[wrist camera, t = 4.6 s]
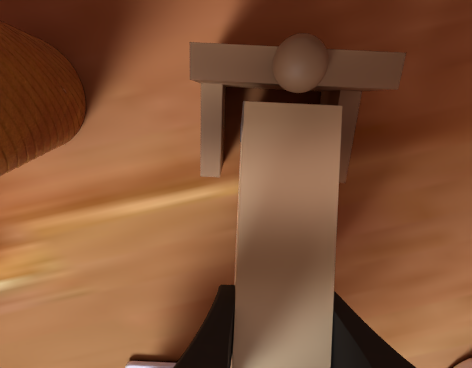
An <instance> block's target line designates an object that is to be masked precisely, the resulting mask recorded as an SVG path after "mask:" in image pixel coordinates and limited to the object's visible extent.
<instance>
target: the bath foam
mask: <svg viewBox="0 0 472 368" xmlns="http://www.w3.org/2000/svg"><path fill="white" fill-rule="evenodd" d="M453 368H472V358H470V359H467V360H465V361H463V362H461V363H459V364H458V365H456V366H455V367H453Z"/></svg>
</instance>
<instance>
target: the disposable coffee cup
mask: <svg viewBox="0 0 472 368" xmlns="http://www.w3.org/2000/svg"><path fill="white" fill-rule="evenodd" d="M85 107H86V104H85V94H84V90H83V87H82V83H81V81H80V79H79V77H78V74H77V72H76V71H75V69H74V68H73V66H72V65H71V63H70V62H69V61H68V60H67V59H66V58H65V57H64V56H63V55H62V54H61V53H60V52H59V51H58V50H57V49H55V48H54V47H52V46H51V45H50V44H48V43H46V42H44V41H42V40H40V39H38V38H36V37H33V36H31V35H29V34H27V33H25V32H23V31H21V30H19V29H17V28H14V27H12V26H10V25H8V24H6V23H4V22H2V21H0V176H1V175H3V174H5V173H8V172H10V171H11V170H13V169H15V168H17V167H20V166H21V165H23V164H24V163H27V162H29V161H31V160H32V159H35V158H37V157H39V156H42V155H43V154H45V153H46V152H49V151H51V150H53V149H55V148H57V147H59V146H62V145H64V144H65V143H67V142H68V141H70V140H71V139H72V138H73V137H74V136H75V134H76V133H77V132H78V130H79V129H80V127H81V125H82V123H83V119H84V116H85Z"/></svg>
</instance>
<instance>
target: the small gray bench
mask: <svg viewBox="0 0 472 368" xmlns="http://www.w3.org/2000/svg"><path fill="white" fill-rule="evenodd" d="M405 56H406V53H399V52H379V51H359V50H339V49H326V47H325V45H324V44H323V43H322V41H321V40H320V39H319V38H317V37H316V36H314V35H311V34H306V33H300V34H295V35H292V36H290V37H289V38H287V39H286V40H284V41H283V42H282V43H281V44H280V46H279V47H278V46H258V45H238V44H217V43H197V42H190V80H193V81H196V82H199V83H201V176H204V177H220V175H221V170H222V166H223V151H224V121H225V90H226V87H240V88H260V89H281V90H287V91H289V92H293V93H303V92H307V91H322V93H321V100H320V105H336V106H342V124H341V146H340V169H339V183H346V177H347V172H348V166H349V161H350V155H351V149H352V144H353V138H354V133H355V127H356V122H357V116H358V110H359V105H360V99H361V94H362V91H378V90H398V88H399V84H400V79H401V75H402V70H403V66H404V61H405Z"/></svg>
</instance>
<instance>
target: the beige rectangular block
mask: <svg viewBox="0 0 472 368" xmlns="http://www.w3.org/2000/svg"><path fill="white" fill-rule="evenodd" d="M341 124H342V106H336V105H316V104H295V103H274V102H253V101H243V109H242V119H241V131H240V142H241V150H240V171H239V192H238V213H237V234H236V256H235V277H234V285H235V313H234V331H233V349H232V360H231V368H331V346H332V324H333V301H334V279H335V257H336V235H337V213H338V191H339V169H340V146H341Z"/></svg>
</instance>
